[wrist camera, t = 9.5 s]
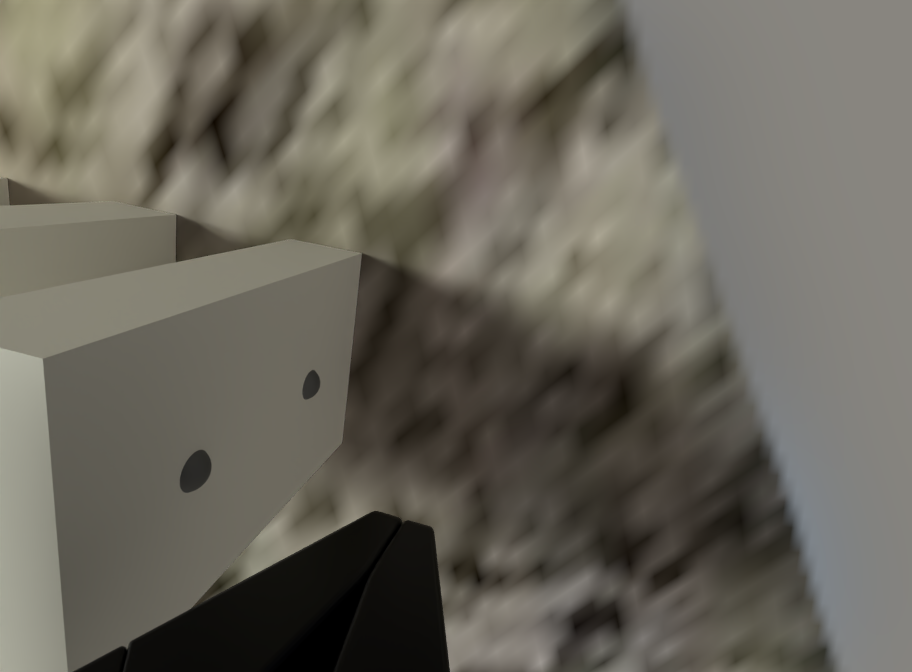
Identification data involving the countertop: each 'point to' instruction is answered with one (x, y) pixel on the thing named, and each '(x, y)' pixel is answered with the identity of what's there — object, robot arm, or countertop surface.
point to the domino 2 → (158, 435)
